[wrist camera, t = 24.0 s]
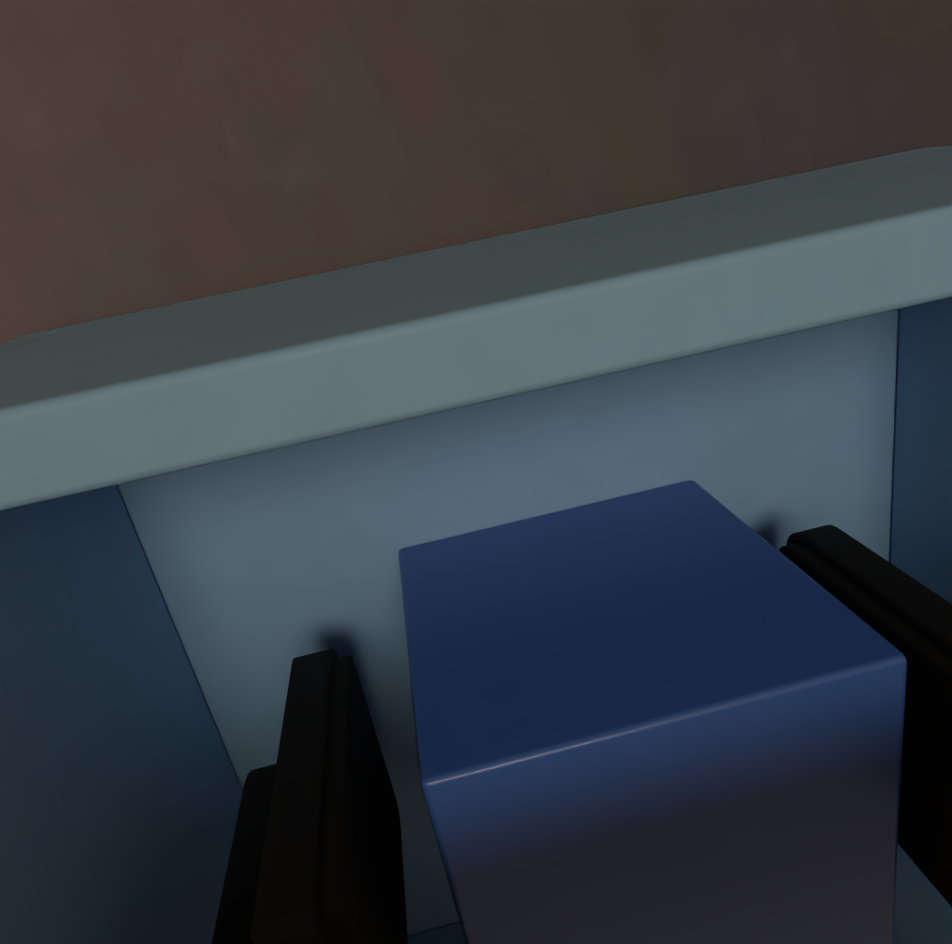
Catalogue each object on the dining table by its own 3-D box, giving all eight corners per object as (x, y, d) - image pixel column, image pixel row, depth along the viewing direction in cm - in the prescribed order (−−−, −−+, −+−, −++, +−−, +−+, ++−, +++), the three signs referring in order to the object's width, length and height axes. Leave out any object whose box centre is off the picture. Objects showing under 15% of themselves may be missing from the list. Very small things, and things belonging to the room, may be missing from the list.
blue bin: (292, 964, 13) (249, 1426, 8) (22, 335, 9) (-435, 503, 4) (889, 799, 14) (1181, 1128, 9) (917, 148, 10) (1523, 81, 5)
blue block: (457, 781, 12) (508, 1094, 8) (396, 547, 10) (419, 785, 6) (711, 714, 12) (893, 980, 8) (693, 478, 10) (911, 655, 6)
